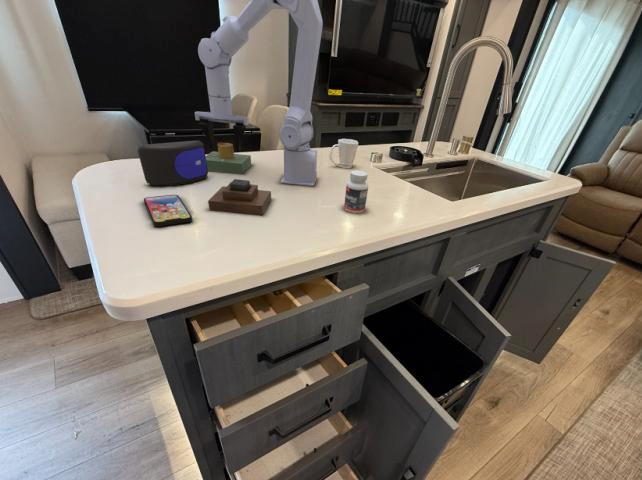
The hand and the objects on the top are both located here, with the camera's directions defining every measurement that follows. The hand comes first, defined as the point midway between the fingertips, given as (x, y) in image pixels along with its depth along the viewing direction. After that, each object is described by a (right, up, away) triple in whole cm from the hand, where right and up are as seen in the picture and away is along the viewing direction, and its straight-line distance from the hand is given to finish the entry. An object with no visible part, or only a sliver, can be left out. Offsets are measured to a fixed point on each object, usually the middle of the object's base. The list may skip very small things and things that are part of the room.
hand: (225, 149), depth 96 cm
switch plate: (+10, -22, -19) cm, 31 cm away
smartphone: (-4, -26, -26) cm, 36 cm away
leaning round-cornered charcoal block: (-9, -13, -10) cm, 19 cm away
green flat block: (0, -4, +3) cm, 5 cm away
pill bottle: (+37, -22, -15) cm, 46 cm away
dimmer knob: (0, -2, +1) cm, 2 cm away
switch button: (+11, -19, -21) cm, 31 cm away
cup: (+35, +1, +15) cm, 38 cm away
